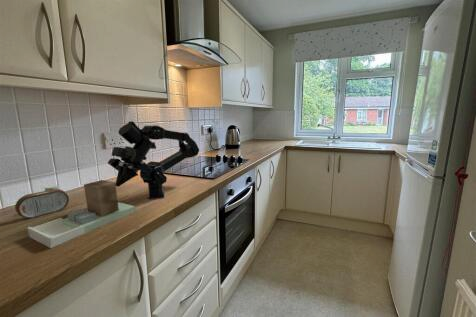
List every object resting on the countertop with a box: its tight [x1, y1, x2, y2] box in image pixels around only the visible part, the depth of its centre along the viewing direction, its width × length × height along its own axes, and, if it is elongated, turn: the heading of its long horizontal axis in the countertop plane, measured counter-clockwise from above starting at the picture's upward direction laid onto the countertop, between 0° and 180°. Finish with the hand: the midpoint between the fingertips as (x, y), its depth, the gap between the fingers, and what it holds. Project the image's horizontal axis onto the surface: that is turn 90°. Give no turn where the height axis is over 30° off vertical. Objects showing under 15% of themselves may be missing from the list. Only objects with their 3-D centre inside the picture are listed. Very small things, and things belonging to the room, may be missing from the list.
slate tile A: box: [75, 210, 96, 225], centre depth 74 cm, size 4×4×2 cm
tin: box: [14, 188, 70, 219], centre depth 85 cm, size 15×3×8 cm, turn 141°
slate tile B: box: [67, 208, 88, 222], centre depth 77 cm, size 4×4×2 cm
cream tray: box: [27, 217, 86, 249], centre depth 70 cm, size 9×13×3 cm, turn 60°
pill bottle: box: [44, 184, 59, 191], centre depth 92 cm, size 5×5×8 cm
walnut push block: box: [83, 179, 119, 217], centre depth 81 cm, size 6×8×10 cm
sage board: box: [62, 201, 136, 234], centre depth 81 cm, size 18×12×2 cm, turn 150°
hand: (116, 186), depth 85 cm, fingers closed
